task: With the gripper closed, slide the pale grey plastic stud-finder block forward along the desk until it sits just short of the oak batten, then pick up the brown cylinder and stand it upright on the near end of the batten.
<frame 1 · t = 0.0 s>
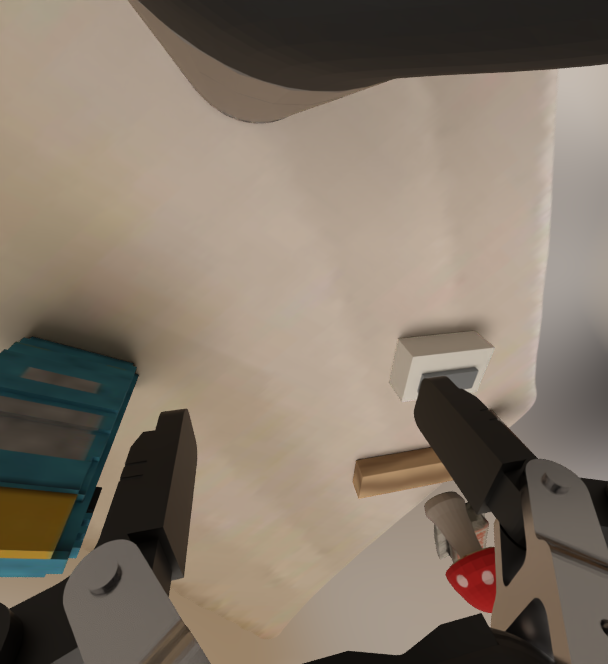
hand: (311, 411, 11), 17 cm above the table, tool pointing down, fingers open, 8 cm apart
batten: (406, 462, 45), on the table
decorative mushroom: (440, 499, 54), on the table
handheld gaming console: (83, 360, 27), on the table
packaged product: (456, 524, 62), on the table
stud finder: (429, 355, 35), on the table
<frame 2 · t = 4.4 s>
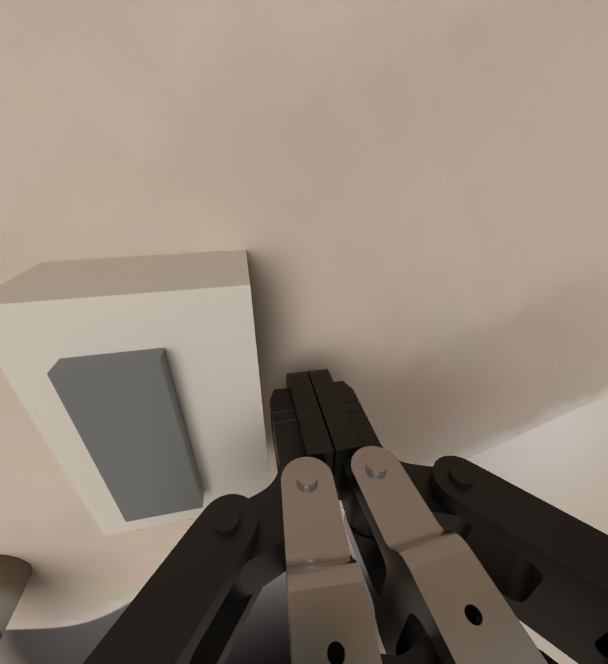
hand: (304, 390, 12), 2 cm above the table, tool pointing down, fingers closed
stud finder: (180, 365, 12), on the table
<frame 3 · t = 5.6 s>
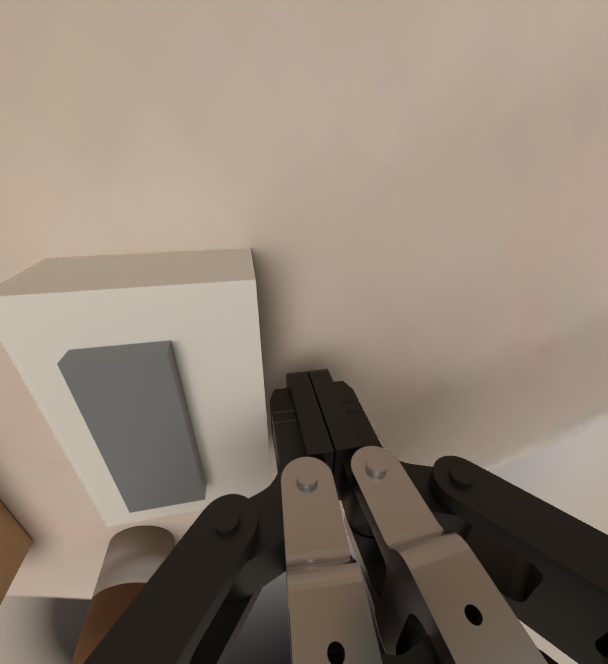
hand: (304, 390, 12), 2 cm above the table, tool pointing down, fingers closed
brown cylinder: (142, 543, 17), on the table
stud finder: (183, 360, 12), on the table
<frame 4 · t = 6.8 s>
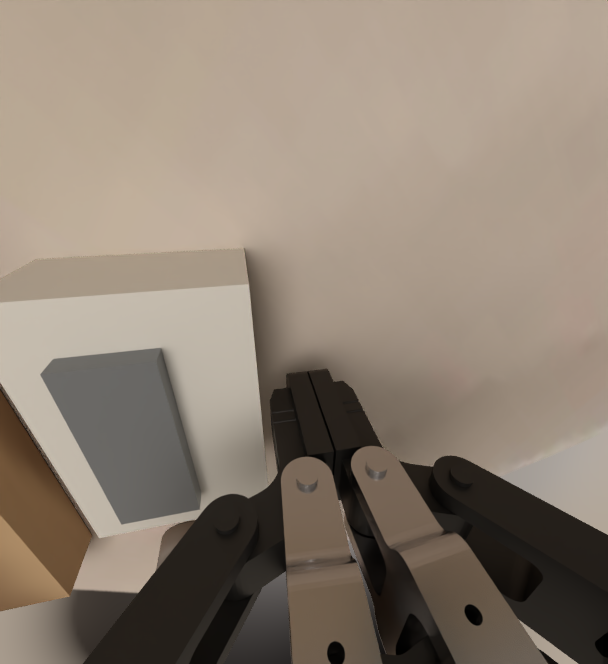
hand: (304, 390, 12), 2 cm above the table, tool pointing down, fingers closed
brown cylinder: (192, 537, 17), on the table
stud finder: (177, 365, 12), on the table
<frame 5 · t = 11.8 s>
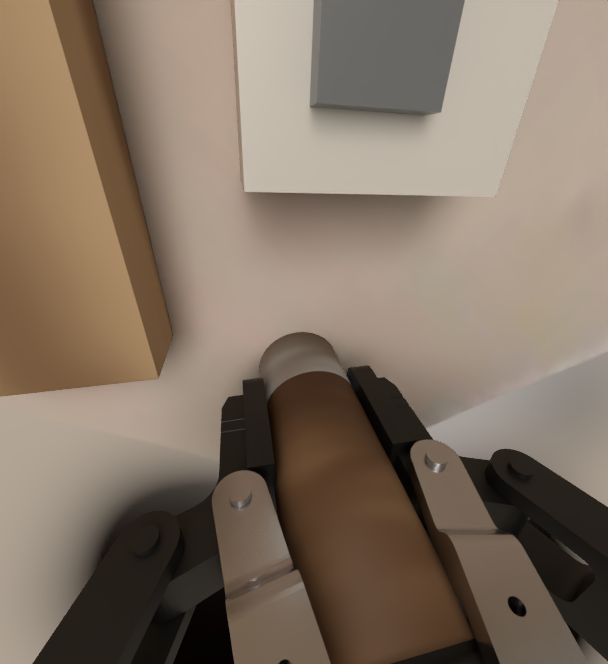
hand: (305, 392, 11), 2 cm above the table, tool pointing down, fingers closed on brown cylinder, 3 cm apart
brown cylinder: (298, 365, 13), on the table, touching gripper
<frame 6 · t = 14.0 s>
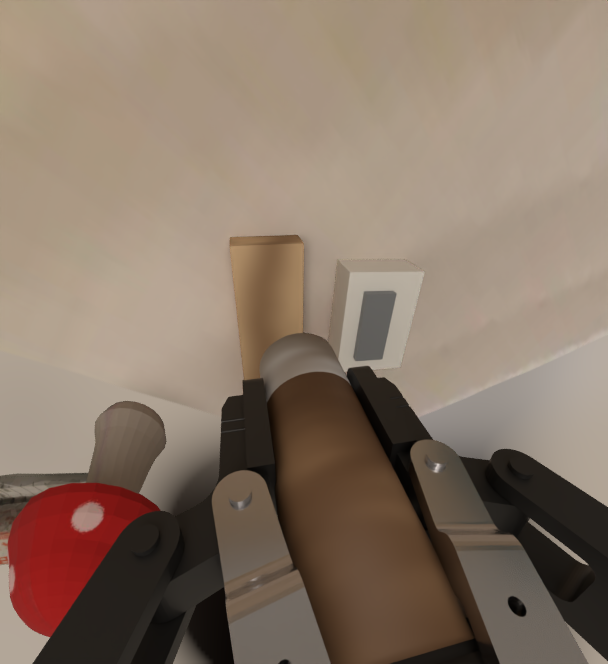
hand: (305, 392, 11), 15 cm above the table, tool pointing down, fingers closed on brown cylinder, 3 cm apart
batten: (269, 329, 27), on the table
decorative mushroom: (136, 422, 29), on the table
brown cylinder: (298, 366, 13), point 13 cm above the table, touching gripper
packaged product: (31, 501, 32), on the table
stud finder: (362, 307, 28), on the table
when the fingers open (5 cm above the table, at t = 16.1 s): brown cylinder stays where it is, resting on batten.
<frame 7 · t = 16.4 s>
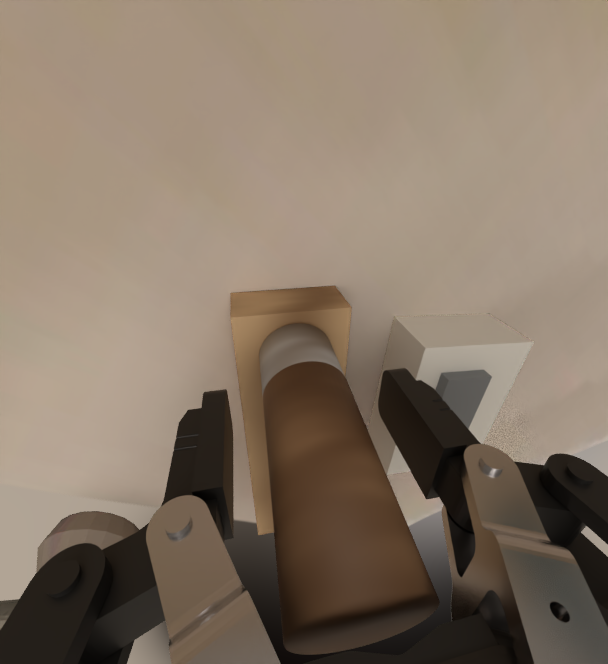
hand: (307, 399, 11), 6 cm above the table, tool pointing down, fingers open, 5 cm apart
batten: (287, 412, 19), on the table
decorative mushroom: (102, 533, 21), on the table
brown cylinder: (296, 354, 14), point 3 cm above the table, touching batten
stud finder: (420, 375, 20), on the table
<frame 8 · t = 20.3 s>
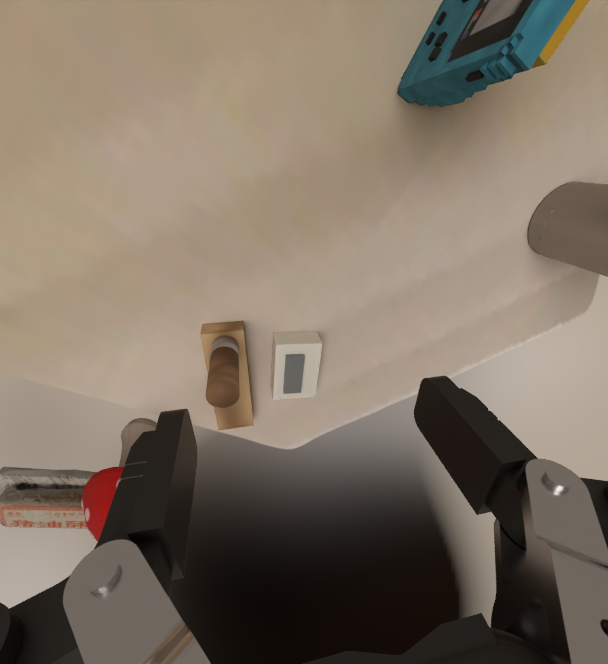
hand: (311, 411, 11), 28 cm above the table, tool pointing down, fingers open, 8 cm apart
batten: (230, 373, 43), on the table
decorative mushroom: (146, 431, 46), on the table
brown cylinder: (225, 346, 38), point 3 cm above the table, touching batten
handheld gaming console: (433, 51, 30), on the table
packaged product: (74, 488, 49), on the table
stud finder: (292, 357, 44), on the table
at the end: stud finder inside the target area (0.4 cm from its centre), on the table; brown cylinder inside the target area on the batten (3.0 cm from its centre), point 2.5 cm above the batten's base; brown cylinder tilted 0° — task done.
